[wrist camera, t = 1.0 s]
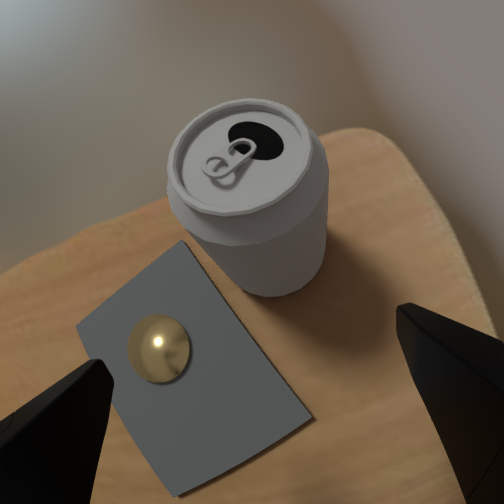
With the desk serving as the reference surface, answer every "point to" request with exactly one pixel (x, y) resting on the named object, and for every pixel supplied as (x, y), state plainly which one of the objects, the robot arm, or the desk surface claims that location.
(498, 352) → the robot arm
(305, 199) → the can
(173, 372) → the gold metal dome
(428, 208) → the desk surface
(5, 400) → the desk surface
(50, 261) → the desk surface
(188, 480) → the mat
